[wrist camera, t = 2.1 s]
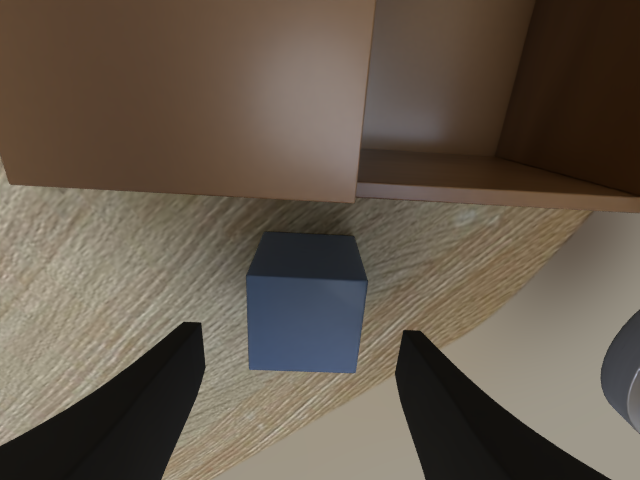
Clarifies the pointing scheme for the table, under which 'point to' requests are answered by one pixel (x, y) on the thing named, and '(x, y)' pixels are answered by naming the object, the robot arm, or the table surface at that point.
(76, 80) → the carton
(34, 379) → the table surface
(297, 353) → the block
